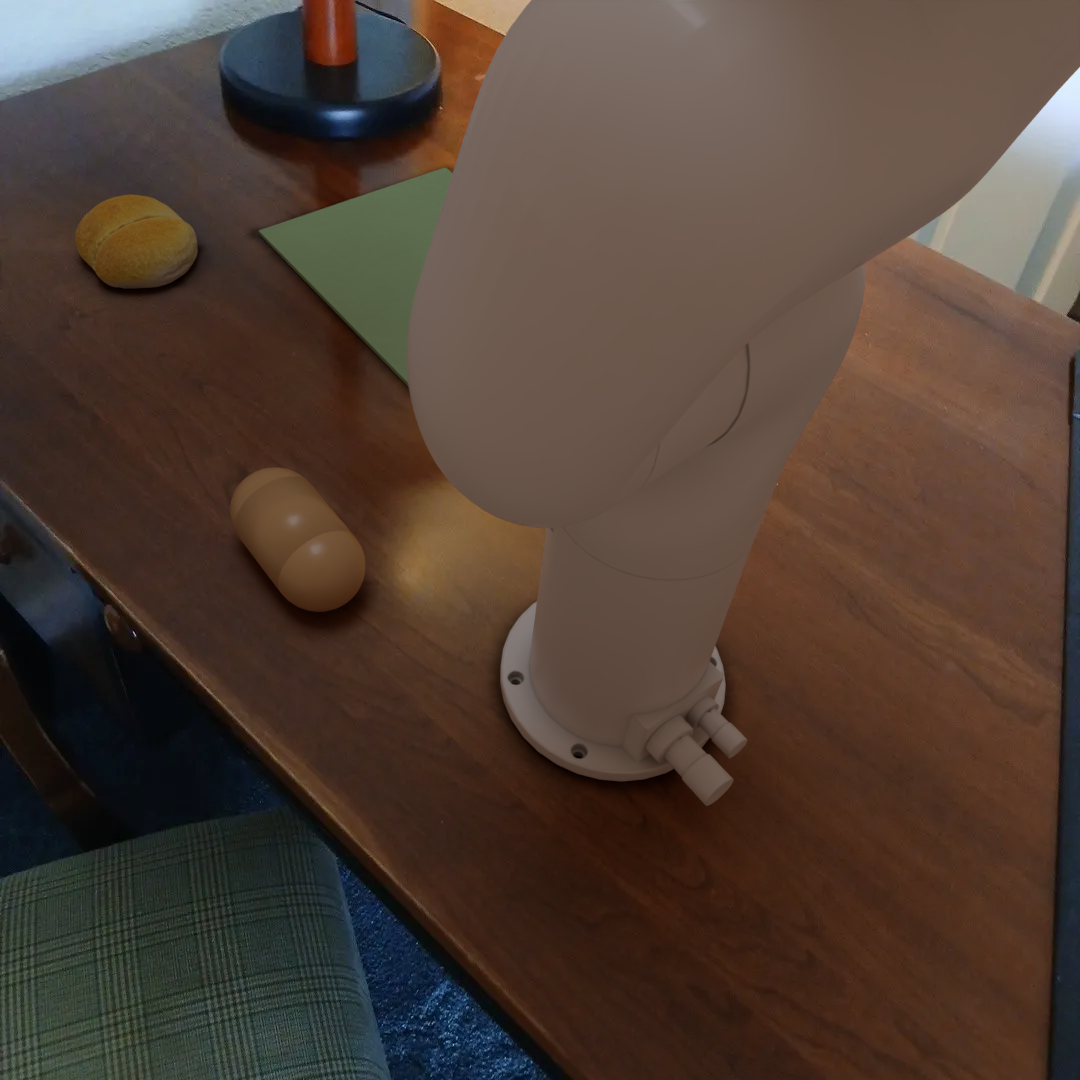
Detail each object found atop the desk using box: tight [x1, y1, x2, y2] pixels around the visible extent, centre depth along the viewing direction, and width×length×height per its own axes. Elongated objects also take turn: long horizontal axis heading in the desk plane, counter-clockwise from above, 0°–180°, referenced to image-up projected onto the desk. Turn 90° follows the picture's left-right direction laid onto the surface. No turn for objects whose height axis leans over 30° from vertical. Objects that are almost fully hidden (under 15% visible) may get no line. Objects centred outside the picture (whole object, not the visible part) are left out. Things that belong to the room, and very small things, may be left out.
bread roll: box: [74, 193, 199, 289], centre depth 79 cm, size 8×9×4 cm
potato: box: [229, 466, 367, 613], centre depth 61 cm, size 10×5×5 cm, turn 38°
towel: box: [258, 166, 453, 388], centre depth 82 cm, size 22×18×1 cm
